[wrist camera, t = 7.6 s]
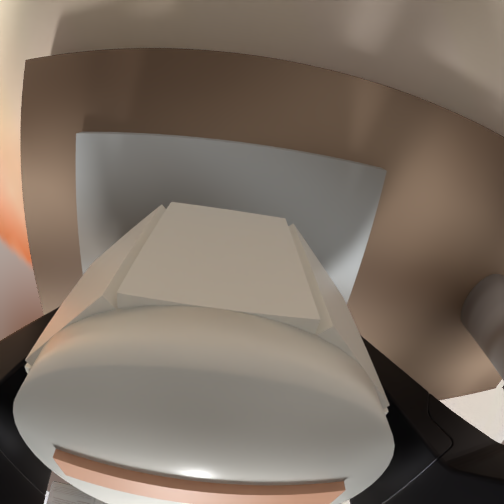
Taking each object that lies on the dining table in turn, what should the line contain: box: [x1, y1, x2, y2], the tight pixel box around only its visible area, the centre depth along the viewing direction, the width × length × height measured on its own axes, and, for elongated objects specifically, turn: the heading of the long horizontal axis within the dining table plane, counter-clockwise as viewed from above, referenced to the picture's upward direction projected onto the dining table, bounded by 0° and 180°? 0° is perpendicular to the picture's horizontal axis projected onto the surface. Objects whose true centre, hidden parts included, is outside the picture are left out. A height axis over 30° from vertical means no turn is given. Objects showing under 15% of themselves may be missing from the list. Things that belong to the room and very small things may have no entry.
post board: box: [21, 48, 504, 400], centre depth 9 cm, size 14×26×7 cm, turn 82°
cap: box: [13, 202, 395, 504], centre depth 6 cm, size 7×7×5 cm
